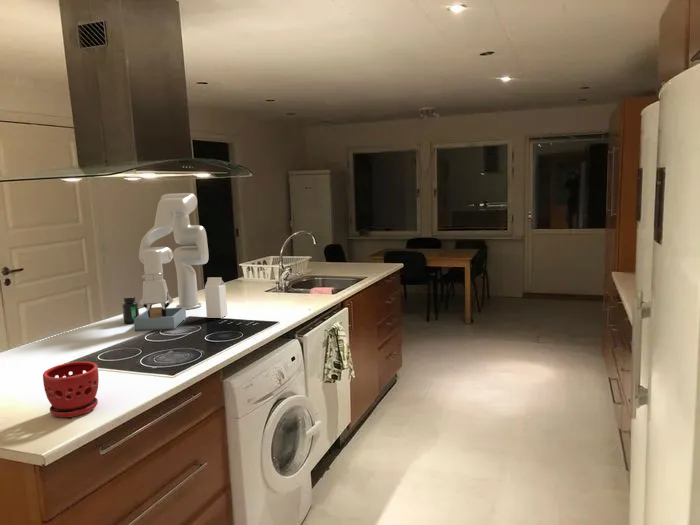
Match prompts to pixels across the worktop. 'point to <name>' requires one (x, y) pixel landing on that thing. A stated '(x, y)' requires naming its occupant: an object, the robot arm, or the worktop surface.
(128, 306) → the supplement bottle
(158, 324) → the box
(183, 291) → the robot arm
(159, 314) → the tan wooden block
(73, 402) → the plant pot
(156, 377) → the worktop surface
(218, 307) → the milk carton
